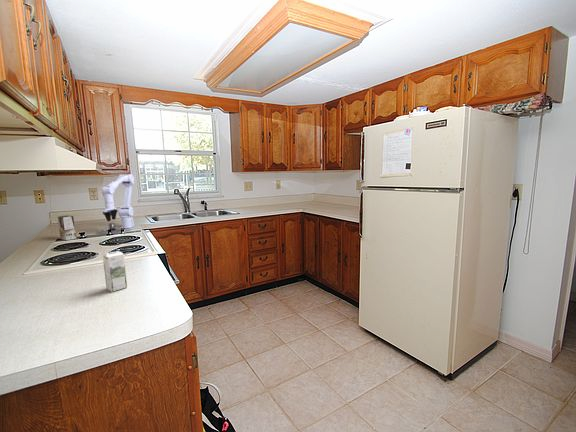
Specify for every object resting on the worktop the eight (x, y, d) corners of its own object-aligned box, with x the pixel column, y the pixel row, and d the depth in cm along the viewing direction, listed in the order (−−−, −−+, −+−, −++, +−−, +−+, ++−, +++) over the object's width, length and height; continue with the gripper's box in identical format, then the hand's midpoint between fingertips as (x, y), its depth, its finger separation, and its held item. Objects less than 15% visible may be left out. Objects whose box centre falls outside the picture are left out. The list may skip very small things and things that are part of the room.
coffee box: (76, 238, 203) (73, 215, 200) (66, 240, 197) (62, 217, 195) (70, 237, 207) (67, 214, 205) (60, 239, 202) (56, 216, 199)
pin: (111, 231, 224) (110, 222, 223) (116, 231, 224) (115, 222, 223) (108, 232, 220) (107, 223, 219) (114, 232, 220) (113, 223, 219)
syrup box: (121, 284, 119) (117, 250, 117) (127, 287, 115) (123, 252, 113) (106, 288, 115) (102, 253, 112) (112, 292, 111) (107, 256, 109)
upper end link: (103, 231, 226) (103, 228, 226) (122, 230, 227) (122, 227, 227) (96, 234, 216) (96, 230, 216) (116, 233, 217) (116, 230, 217)
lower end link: (109, 231, 226) (109, 229, 226) (130, 230, 228) (130, 228, 228) (102, 233, 216) (102, 231, 216) (124, 233, 218) (124, 231, 218)
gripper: (108, 201, 225) (110, 218, 227) (98, 203, 211) (100, 222, 213) (118, 201, 226) (120, 218, 228) (108, 203, 211) (110, 221, 214)
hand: (111, 220), depth 220 cm, fingers open, 7 cm apart
